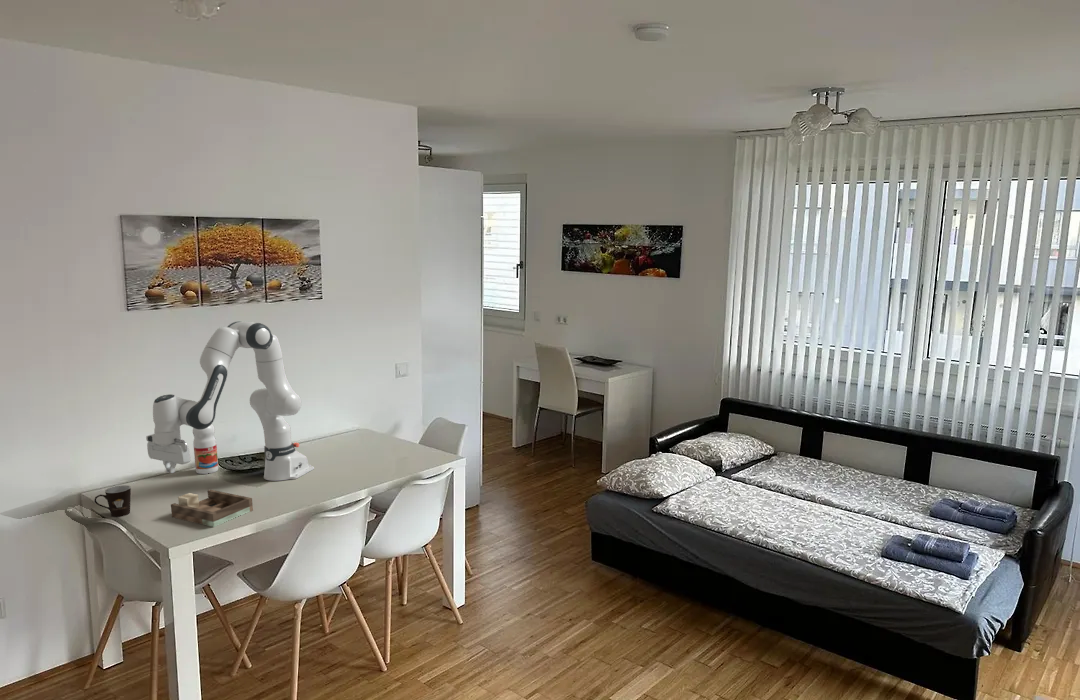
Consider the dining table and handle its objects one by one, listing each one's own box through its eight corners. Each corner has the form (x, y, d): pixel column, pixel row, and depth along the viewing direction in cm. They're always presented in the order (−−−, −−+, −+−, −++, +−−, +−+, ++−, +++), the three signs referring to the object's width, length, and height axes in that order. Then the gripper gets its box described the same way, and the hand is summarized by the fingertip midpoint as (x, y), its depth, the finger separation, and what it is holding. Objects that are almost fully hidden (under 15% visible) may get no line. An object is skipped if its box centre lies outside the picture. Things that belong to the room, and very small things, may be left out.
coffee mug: (137, 509, 288) (135, 485, 287) (126, 517, 280) (123, 492, 278) (107, 510, 288) (104, 485, 287) (95, 518, 280) (92, 493, 278)
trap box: (171, 517, 280) (170, 504, 279) (211, 501, 296) (210, 489, 295) (214, 527, 270) (212, 514, 269) (252, 510, 286) (252, 498, 285)
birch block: (190, 505, 287) (189, 492, 286) (199, 507, 284) (198, 494, 284) (179, 509, 282) (178, 497, 281) (188, 511, 280) (187, 499, 279)
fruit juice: (213, 466, 341) (208, 407, 336) (222, 470, 335) (217, 410, 330) (192, 471, 334) (186, 411, 330) (201, 475, 328) (195, 414, 323)
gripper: (193, 438, 281) (196, 473, 283) (157, 432, 290) (160, 466, 292) (178, 442, 275) (181, 478, 277) (143, 436, 284) (146, 470, 286)
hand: (170, 472), depth 285 cm, fingers closed
